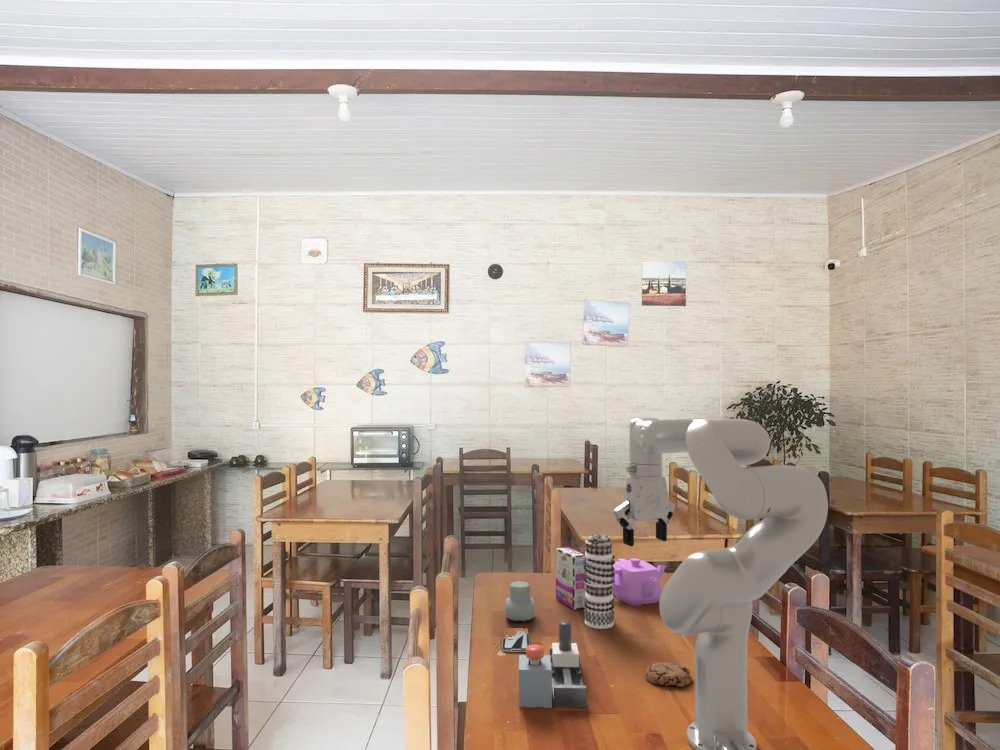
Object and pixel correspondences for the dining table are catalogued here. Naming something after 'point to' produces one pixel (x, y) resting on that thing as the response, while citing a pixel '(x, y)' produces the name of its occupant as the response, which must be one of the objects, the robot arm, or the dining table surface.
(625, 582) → the teakettle
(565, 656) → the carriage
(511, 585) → the air freshener
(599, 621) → the decorative candle
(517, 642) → the smartphone
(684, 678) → the cookie
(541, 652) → the button
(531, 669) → the button housing
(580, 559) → the candy bar box
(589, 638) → the dining table surface
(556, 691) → the rail
